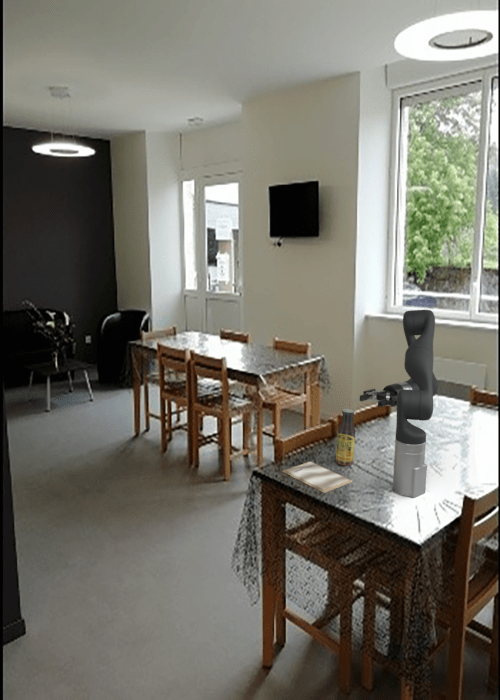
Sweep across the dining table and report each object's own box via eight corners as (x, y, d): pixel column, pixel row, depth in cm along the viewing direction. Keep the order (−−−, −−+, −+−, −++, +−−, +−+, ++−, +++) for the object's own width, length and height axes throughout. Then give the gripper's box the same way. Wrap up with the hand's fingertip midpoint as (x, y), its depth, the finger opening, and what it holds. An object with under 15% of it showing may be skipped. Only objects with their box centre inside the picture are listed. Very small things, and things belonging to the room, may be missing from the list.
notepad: (352, 482, 185) (352, 479, 185) (324, 493, 177) (324, 491, 177) (310, 462, 200) (310, 460, 200) (282, 472, 193) (282, 470, 192)
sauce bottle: (333, 464, 199) (334, 411, 194) (339, 458, 204) (340, 406, 200) (351, 468, 196) (353, 414, 191) (356, 461, 201) (358, 409, 197)
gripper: (383, 379, 217) (354, 387, 207) (413, 387, 206) (385, 396, 196) (382, 397, 219) (354, 406, 209) (412, 407, 208) (384, 416, 198)
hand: (369, 401), depth 203 cm, fingers open, 8 cm apart
